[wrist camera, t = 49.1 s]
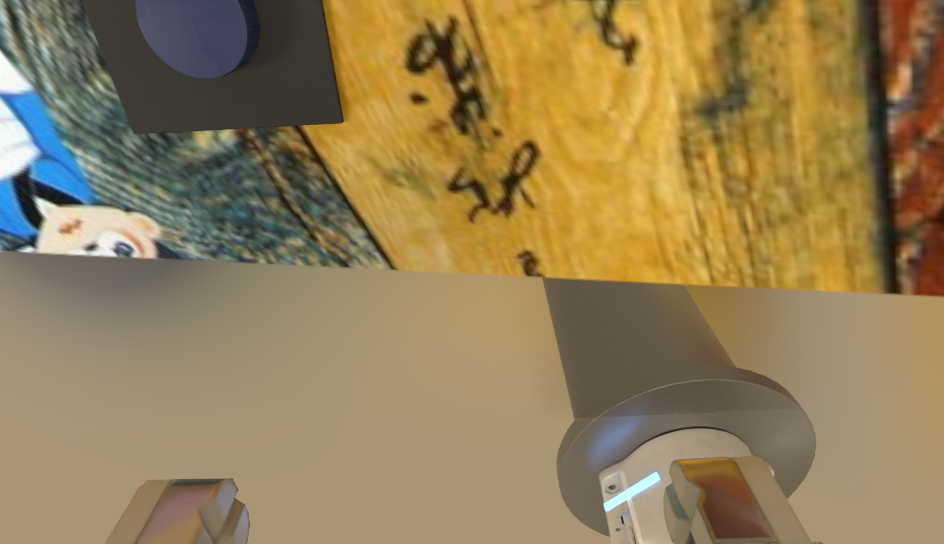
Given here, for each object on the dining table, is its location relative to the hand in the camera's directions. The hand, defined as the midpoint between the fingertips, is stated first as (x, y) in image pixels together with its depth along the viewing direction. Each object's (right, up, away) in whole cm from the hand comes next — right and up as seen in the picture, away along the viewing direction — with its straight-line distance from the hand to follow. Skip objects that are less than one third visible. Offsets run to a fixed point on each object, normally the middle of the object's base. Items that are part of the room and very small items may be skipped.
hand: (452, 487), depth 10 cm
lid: (-15, +18, +20) cm, 31 cm away
